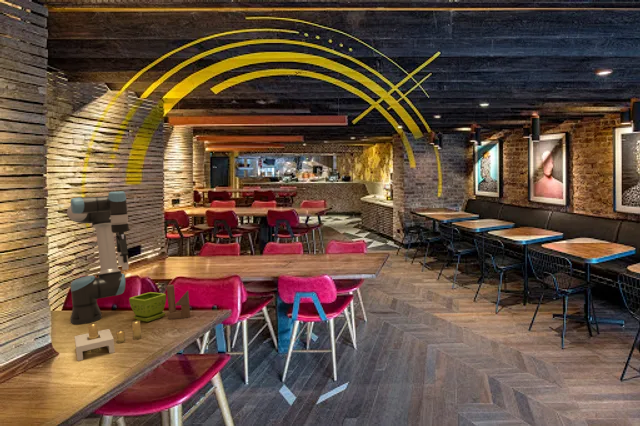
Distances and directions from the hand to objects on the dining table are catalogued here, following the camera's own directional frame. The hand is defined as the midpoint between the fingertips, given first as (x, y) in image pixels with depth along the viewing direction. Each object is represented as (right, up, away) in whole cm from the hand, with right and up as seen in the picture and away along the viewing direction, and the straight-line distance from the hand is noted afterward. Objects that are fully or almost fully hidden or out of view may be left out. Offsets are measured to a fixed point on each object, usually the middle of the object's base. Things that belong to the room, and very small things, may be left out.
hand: (123, 267), depth 203 cm
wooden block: (+19, -30, +23) cm, 43 cm away
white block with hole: (-4, -34, -18) cm, 39 cm away
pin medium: (+9, -33, -5) cm, 34 cm away
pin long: (-4, -34, -18) cm, 39 cm away
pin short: (+3, -33, -9) cm, 35 cm away
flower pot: (+3, -31, +24) cm, 40 cm away
